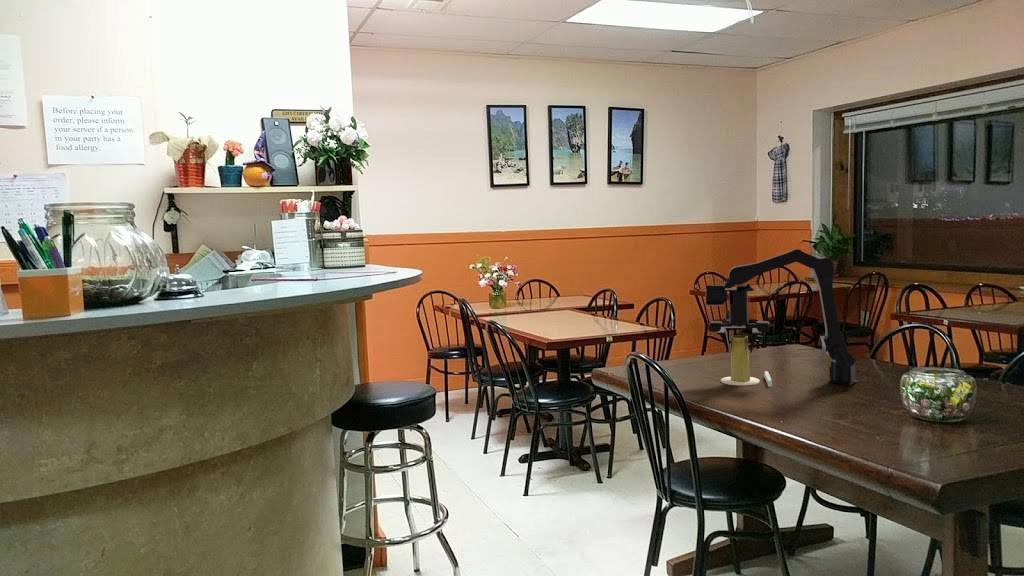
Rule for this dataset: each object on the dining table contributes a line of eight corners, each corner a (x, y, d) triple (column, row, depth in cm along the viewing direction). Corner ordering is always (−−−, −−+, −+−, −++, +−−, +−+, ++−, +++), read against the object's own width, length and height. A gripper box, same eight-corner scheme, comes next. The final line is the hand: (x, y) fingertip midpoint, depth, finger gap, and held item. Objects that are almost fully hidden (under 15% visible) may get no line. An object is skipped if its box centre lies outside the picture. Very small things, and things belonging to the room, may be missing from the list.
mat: (766, 380, 225) (766, 379, 225) (746, 387, 217) (746, 385, 217) (734, 376, 234) (734, 374, 234) (713, 382, 226) (713, 380, 226)
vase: (752, 381, 222) (751, 337, 221) (733, 382, 223) (732, 338, 222) (747, 377, 228) (745, 334, 227) (728, 378, 229) (727, 335, 228)
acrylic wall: (764, 377, 230) (764, 371, 230) (767, 377, 230) (767, 371, 230) (768, 386, 217) (768, 380, 217) (771, 386, 217) (771, 380, 216)
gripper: (769, 302, 228) (770, 348, 229) (710, 302, 234) (711, 348, 236) (769, 305, 218) (770, 355, 219) (707, 306, 224) (709, 354, 225)
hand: (739, 352), depth 225 cm, fingers open, 7 cm apart
